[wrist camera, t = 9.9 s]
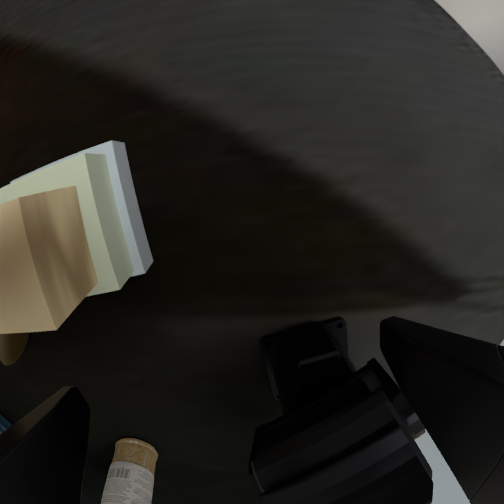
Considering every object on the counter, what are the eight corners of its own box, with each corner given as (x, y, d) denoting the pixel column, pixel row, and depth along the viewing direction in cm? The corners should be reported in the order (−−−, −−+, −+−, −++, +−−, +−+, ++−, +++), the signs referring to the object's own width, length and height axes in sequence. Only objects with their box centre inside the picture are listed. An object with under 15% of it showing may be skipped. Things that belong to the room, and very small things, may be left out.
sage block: (134, 270, 17) (119, 289, 15) (45, 289, 17) (23, 308, 14) (105, 154, 15) (84, 153, 13) (16, 188, 15) (-12, 194, 12)
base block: (154, 258, 20) (145, 273, 18) (61, 280, 20) (43, 295, 17) (126, 143, 18) (111, 140, 15) (33, 178, 18) (10, 181, 15)
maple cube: (98, 282, 14) (56, 330, 10) (27, 293, 14) (-21, 334, 9) (75, 185, 13) (18, 197, 8) (5, 207, 13) (-55, 226, 8)
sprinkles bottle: (122, 458, 25) (102, 560, 13) (110, 433, 24) (81, 545, 11) (162, 462, 26) (153, 570, 13) (154, 437, 25) (137, 557, 12)
